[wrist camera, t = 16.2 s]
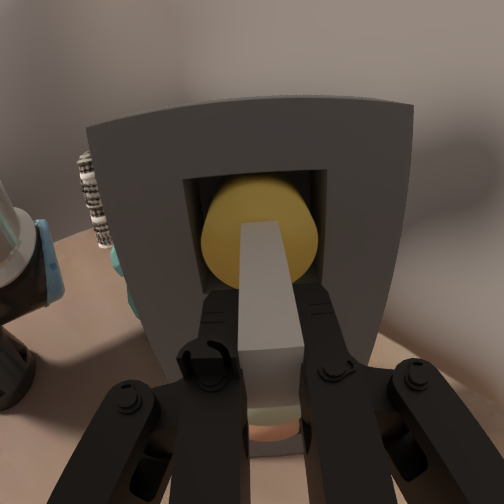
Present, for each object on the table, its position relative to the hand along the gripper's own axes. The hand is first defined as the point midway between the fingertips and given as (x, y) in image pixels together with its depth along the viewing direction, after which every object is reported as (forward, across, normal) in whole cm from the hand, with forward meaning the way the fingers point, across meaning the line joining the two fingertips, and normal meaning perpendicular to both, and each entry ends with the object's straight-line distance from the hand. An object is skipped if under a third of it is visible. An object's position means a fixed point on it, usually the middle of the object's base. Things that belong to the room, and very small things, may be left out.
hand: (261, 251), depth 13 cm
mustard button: (+2, 0, +2) cm, 3 cm away
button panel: (+5, 0, +27) cm, 27 cm away
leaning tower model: (+56, +39, +27) cm, 73 cm away
